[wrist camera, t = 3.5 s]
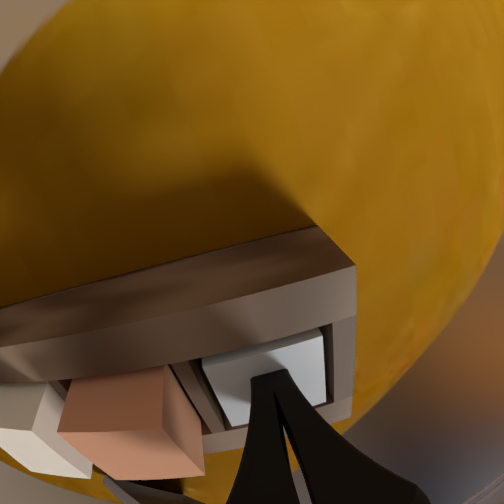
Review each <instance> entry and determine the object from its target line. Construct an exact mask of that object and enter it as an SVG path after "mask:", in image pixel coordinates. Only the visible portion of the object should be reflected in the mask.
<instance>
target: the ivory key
mask: <svg viewBox="0 0 504 504" xmlns="http://www.w3.org/2000/svg"><path fill="white" fill-rule="evenodd" d="M64 404H65V402H64V400H63V399H62V398H61V397H60V396H59V395H58V394H57V392H56V391H55V390H54V389H53V388H52V386H51V385H50V384H49V383H48V382H47V381H41V382H27V383H8V384H0V447H1V448H2V449H4V450H5V451H6V452H7V453H8V454H10V455H11V456H12V457H13V458H14V459H16V460H17V461H18V462H20V463H21V464H22V465H23V466H25V467H26V468H27V469H29V470H30V471H32V472H38V473H44V474H51V475H58V476H66V477H76V478H87V479H91V472H92V465H93V463H92V462H91V461H90V460H88V459H87V458H86V457H85V456H83V455H82V454H81V453H80V452H79V451H77V450H76V449H75V448H74V447H73V446H72V445H70V444H69V443H68V442H67V441H66V440H65V439H64V438H62V437H61V436H60V435H59V434H58V433H57V429H58V425H59V422H60V418H61V414H62V411H63V407H64Z"/></svg>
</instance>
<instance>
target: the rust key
mask: <svg viewBox="0 0 504 504" xmlns="http://www.w3.org/2000/svg"><path fill="white" fill-rule="evenodd" d="M57 433H58V434H59V435H60V436H61V437H62V438H64V439H65V440H66V441H67V442H68V443H69V444H70V445H72V446H73V447H74V448H75V449H76V450H77V451H79V452H80V453H81V454H82V455H83V456H85V457H86V458H87V459H88V460H90V461H91V462H92V463H93V464H95V465H96V466H97V467H99V468H100V469H101V470H103V471H104V472H105V473H107V474H108V475H109V476H111V477H112V478H114V479H115V480H155V479H172V478H184V477H194V476H203V475H205V467H204V456H203V444H202V432H201V419H200V417H199V416H198V414H197V413H196V411H195V409H194V408H193V406H192V405H191V403H190V401H189V400H188V398H187V397H186V395H185V393H184V392H183V390H182V388H181V387H180V385H179V383H178V381H177V380H176V378H175V376H174V374H173V373H172V371H171V369H170V367H169V366H168V364H167V365H162V366H156V367H151V368H145V369H139V370H133V371H127V372H120V373H113V374H106V375H99V376H91V377H83V378H74V379H72V381H71V384H70V388H69V391H68V394H67V397H66V401H65V404H64V407H63V411H62V414H61V418H60V422H59V425H58V429H57Z"/></svg>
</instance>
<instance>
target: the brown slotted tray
mask: <svg viewBox="0 0 504 504" xmlns="http://www.w3.org/2000/svg"><path fill="white" fill-rule="evenodd" d="M317 327H318V328H319V330H320V332H321V334H322V336H323V350H324V367H325V387H326V402H324V403H321V404H318V405H314V406H313V407H314V408H315V410H316V411H317V412H318V413H319V414H320V415H321V416H322V417H323V419H324V420H325V421H326V422H327V423H328V424H332V423H335V422H338V421H341V420H343V419H346V418H349V417H351V408H352V397H353V384H354V368H355V347H356V265H355V264H354V263H353V262H352V260H351V259H350V258H349V257H348V256H347V255H346V254H345V253H344V252H343V251H342V250H341V249H340V248H339V247H338V246H337V245H336V244H335V243H334V242H333V241H332V240H331V239H330V238H329V236H328V235H327V234H326V233H325V232H324V231H323V230H322V229H321V228H320V227H319V226H318V225H314V226H310V227H306V228H302V229H298V230H294V231H290V232H286V233H282V234H278V235H274V236H270V237H266V238H262V239H258V240H254V241H250V242H246V243H242V244H239V245H235V246H231V247H227V248H223V249H219V250H215V251H211V252H207V253H203V254H199V255H196V256H192V257H188V258H184V259H180V260H176V261H172V262H169V263H165V264H161V265H157V266H153V267H149V268H146V269H142V270H138V271H134V272H130V273H127V274H123V275H119V276H115V277H112V278H108V279H104V280H100V281H97V282H93V283H89V284H85V285H82V286H78V287H74V288H71V289H67V290H63V291H60V292H56V293H52V294H49V295H45V296H41V297H38V298H34V299H30V300H27V301H23V302H19V303H16V304H12V305H9V306H5V307H2V308H0V384H8V383H27V382H41V381H47V382H48V383H49V384H50V385H51V386H52V388H53V389H54V390H55V391H56V392H57V394H58V395H59V396H60V397H61V398H62V399H63V400H64V402H65V401H66V397H67V394H68V391H69V388H70V384H71V381H72V379H74V378H83V377H91V376H99V375H106V374H113V373H120V372H127V371H133V370H139V369H145V368H151V367H156V366H162V365H167V364H168V366H169V367H170V369H171V371H172V373H173V374H174V376H175V378H176V380H177V381H178V383H179V385H180V387H181V388H182V390H183V392H184V393H185V395H186V397H187V398H188V400H189V401H190V403H191V405H192V406H193V408H194V409H195V411H196V413H197V414H198V416H199V417H200V419H201V432H202V444H203V454H210V453H216V452H222V451H228V450H233V449H238V448H243V447H244V446H245V441H246V436H247V431H248V424H249V423H247V424H243V425H238V426H233V427H232V425H231V423H230V422H229V420H228V418H227V416H226V414H225V412H224V410H223V408H222V406H221V404H220V402H219V400H218V398H217V396H216V394H215V392H214V390H213V388H212V386H211V384H210V382H209V380H208V378H207V376H206V374H205V372H204V370H203V368H202V357H207V356H211V355H215V354H220V353H224V352H228V351H233V350H237V349H241V348H245V347H249V346H253V345H257V344H261V343H264V342H268V341H272V340H276V339H279V338H283V337H286V336H290V335H293V334H297V333H300V332H304V331H307V330H310V329H314V328H317ZM283 429H284V427H283ZM284 435H285V438H286V437H287V434H286V432H285V429H284Z"/></svg>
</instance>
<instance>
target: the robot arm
mask: <svg viewBox="0 0 504 504" xmlns="http://www.w3.org/2000/svg"><path fill="white" fill-rule="evenodd" d="M250 383H251V406H250V416H249V424H248V431H247V436H246V441H245V446H244V451H243V455H242V459H241V463H240V466H239V470H238V473H237V476H236V479H235V482H234V485H233V487H232V490H231V493H230V495H229V498H228V500H227V502H226V504H300V502H299V499H298V495H297V492H296V488H295V485H294V482H293V478H292V473H291V468H290V463H289V457H288V451H287V446H286V440H285V435H284V429H285V432H286V434H287V437H288V439H289V441H290V444H291V446H292V449H293V451H294V454H295V456H296V458H297V461H298V463H299V466H300V468H301V471H302V473H303V476H304V479H305V483H306V486H307V489H308V492H309V495H310V499H311V502H312V504H431V503H430V501H429V499H428V498H427V496H426V495H425V494H424V492H423V491H422V490H421V489H420V488H419V487H418V486H417V485H416V484H414V483H412V482H410V481H408V480H406V479H404V478H402V477H400V476H398V475H396V474H394V473H393V472H391V471H389V470H387V469H386V468H384V467H382V466H381V465H379V464H378V463H376V462H374V461H373V460H372V459H370V458H369V457H367V456H366V455H364V454H363V453H362V452H360V451H359V450H358V449H356V448H355V447H354V446H353V445H351V444H350V443H349V442H348V441H347V440H345V439H344V438H343V437H342V436H341V435H340V434H339V433H338V432H336V431H335V430H334V429H333V428H332V427H331V426H330V425H329V424H328V423H327V422H326V421H325V420H324V419H323V417H322V416H321V415H320V414H319V413H318V412H317V411H316V410H315V408H314V407H313V406H312V405H311V404H310V403H309V401H308V400H307V399H306V398H305V396H304V395H303V394H302V392H301V391H300V389H299V388H298V386H297V385H296V383H295V382H294V380H293V379H292V377H291V375H290V373H289V371H288V369H285V368H284V369H281V370H277V371H273V372H270V373H266V374H262V375H258V376H254V377H252V378H251V379H250ZM283 427H284V429H283ZM463 504H504V472H503V473H502V474H501V475H500V476H498V478H496V479H495V480H494V481H493V482H491V483H490V484H489V485H488V486H486V487H485V488H484V489H482V490H481V491H480V492H478V493H477V494H475V495H474V496H473V497H471V498H470V499H468V500H467V501H466V502H464V503H463Z"/></svg>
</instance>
